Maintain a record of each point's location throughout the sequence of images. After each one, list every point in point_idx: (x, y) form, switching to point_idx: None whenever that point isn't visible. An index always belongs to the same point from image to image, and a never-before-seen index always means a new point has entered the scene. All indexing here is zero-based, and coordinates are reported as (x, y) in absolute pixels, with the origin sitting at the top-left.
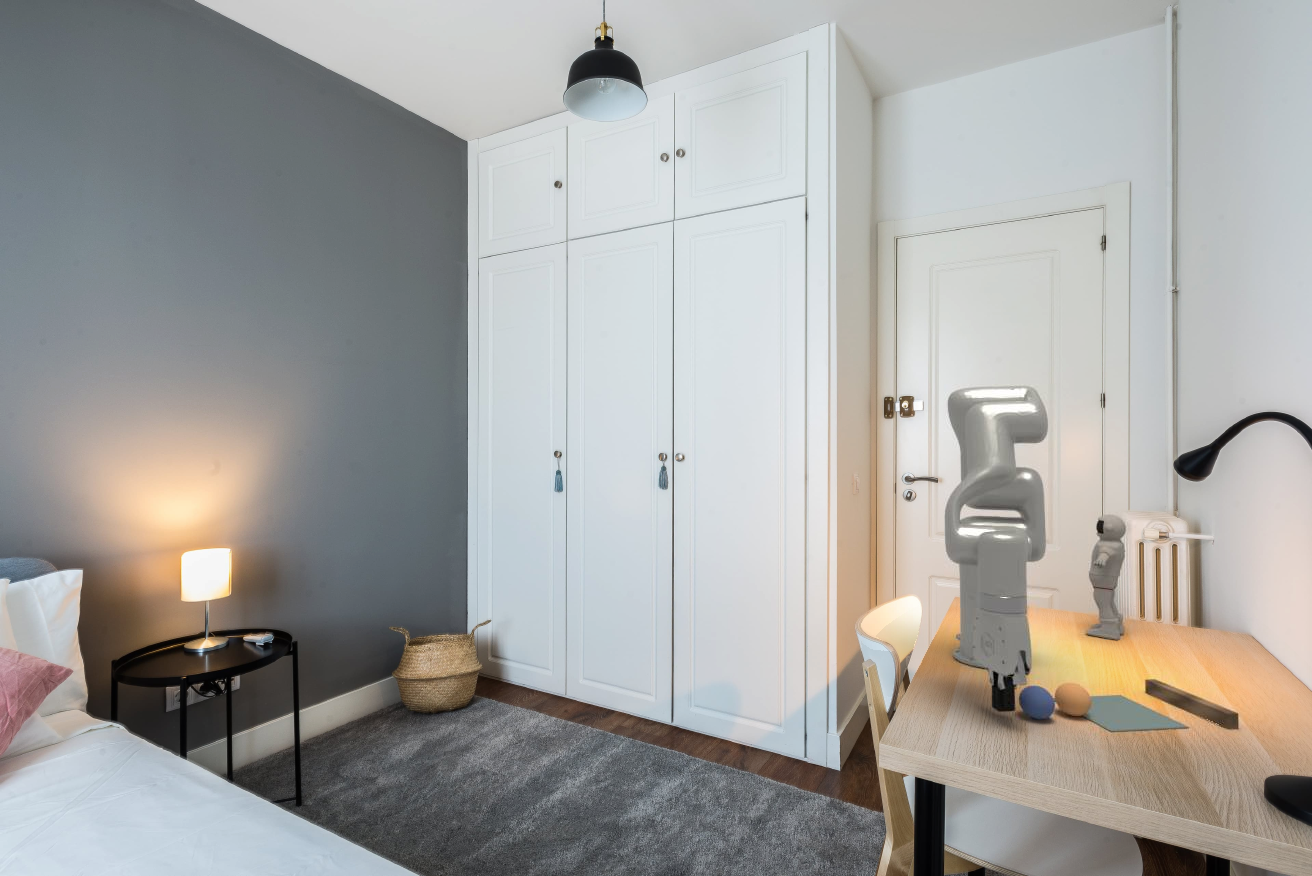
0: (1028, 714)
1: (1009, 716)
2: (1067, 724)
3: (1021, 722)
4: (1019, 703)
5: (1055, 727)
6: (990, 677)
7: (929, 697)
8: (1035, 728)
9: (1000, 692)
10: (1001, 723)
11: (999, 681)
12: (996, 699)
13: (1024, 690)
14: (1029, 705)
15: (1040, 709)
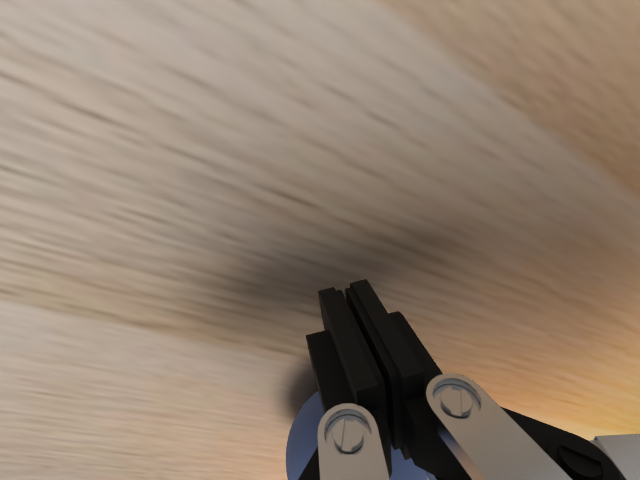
0: None
1: None
2: None
3: (294, 343)
4: None
5: (258, 425)
6: (485, 414)
7: (621, 13)
8: (238, 372)
9: (347, 383)
10: (276, 268)
11: (367, 464)
12: (341, 326)
13: None
14: (313, 431)
15: (287, 451)
